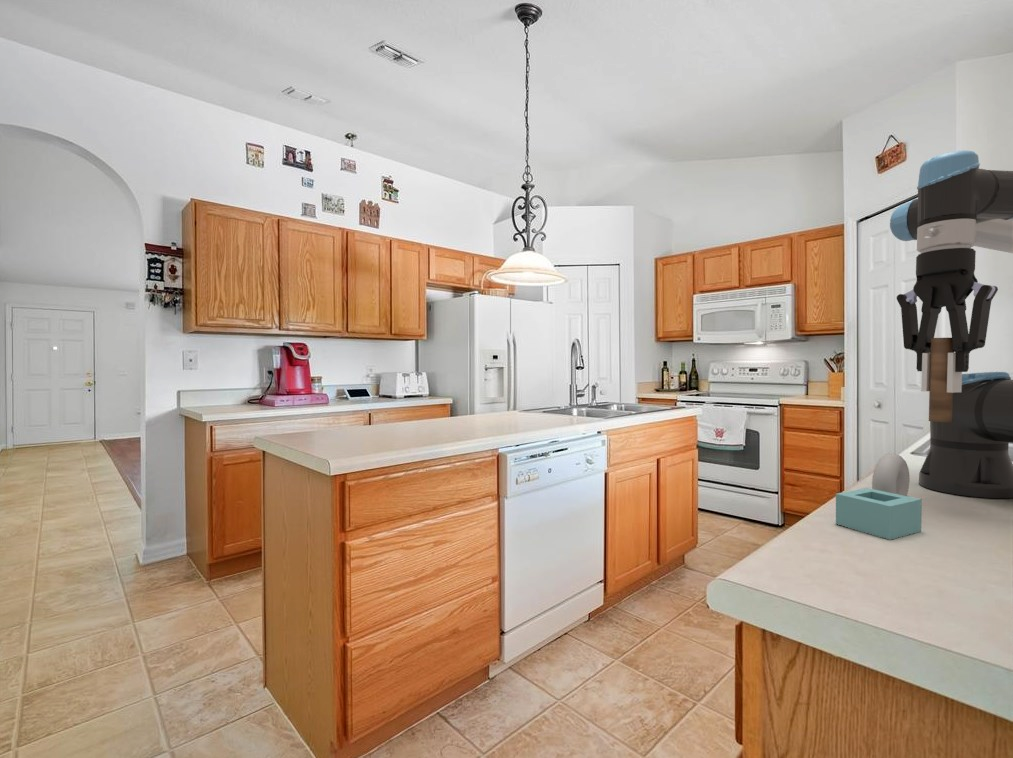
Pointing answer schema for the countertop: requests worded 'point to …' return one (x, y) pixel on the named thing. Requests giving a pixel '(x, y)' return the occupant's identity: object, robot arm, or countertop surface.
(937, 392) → the thick dowel
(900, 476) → the grey rounded flat slab
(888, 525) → the teal socket block
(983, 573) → the countertop surface
